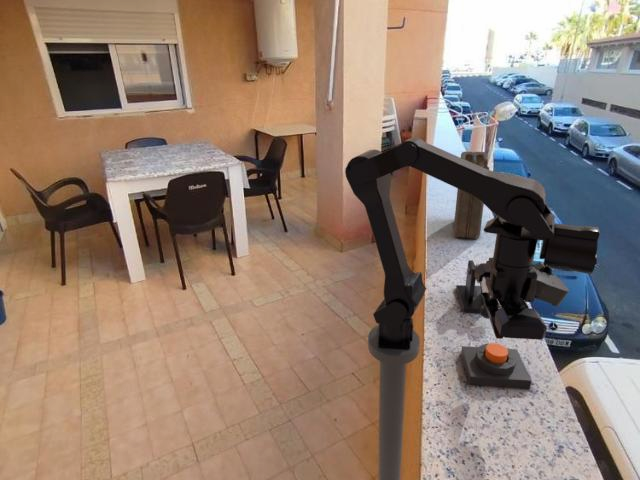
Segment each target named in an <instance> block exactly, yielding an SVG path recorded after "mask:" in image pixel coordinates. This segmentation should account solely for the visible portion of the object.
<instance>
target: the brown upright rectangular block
mask: <svg viewBox="0 0 640 480" xmlns="http://www.w3.org/2000/svg"><path fill="white" fill-rule="evenodd" d="M460 158H462V159H465V160H467V161H469V162H471V163H474V164H476V165H478V166H481V167H483V168H485V169H487V170H490V167H489V165H488V162H489V158H488V153H487V152H486V151H462V152H461V154H460ZM456 190H457V191H456V201H455V210H454V220H453V221H454V224H453V235H454V237H455V238H462V239H465V238H466V239H467V238H468V239H479V238H480V236H481V231H482V221H483V214H484V206H485V204H484V203H483V202H482V201H480V200H479V199H478V198H476V197H475V196H473V195H471V194H469V193H466V192H464V191H462V190H460V189H458V188H457V189H456Z"/></svg>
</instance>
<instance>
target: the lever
mask: <svg viewBox="0 0 640 480" xmlns="http://www.w3.org/2000/svg"><path fill="white" fill-rule="evenodd" d="M480 264H481V263H476V264H475V266H476V267H477V266H478V265H480ZM486 278H487V277H483V280H482V282H481V283H479V286H480V287H481V293H483V292H487V287H486V284H485V282H486ZM482 299H483V297H482ZM479 314H480V316H481V317H482V318H484V319H486V320H487V319H488V320H490V319H489V316H488V312H487V309H486V306H485V303H484V300H483V305H482V306H481V307H480V313H479Z"/></svg>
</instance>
